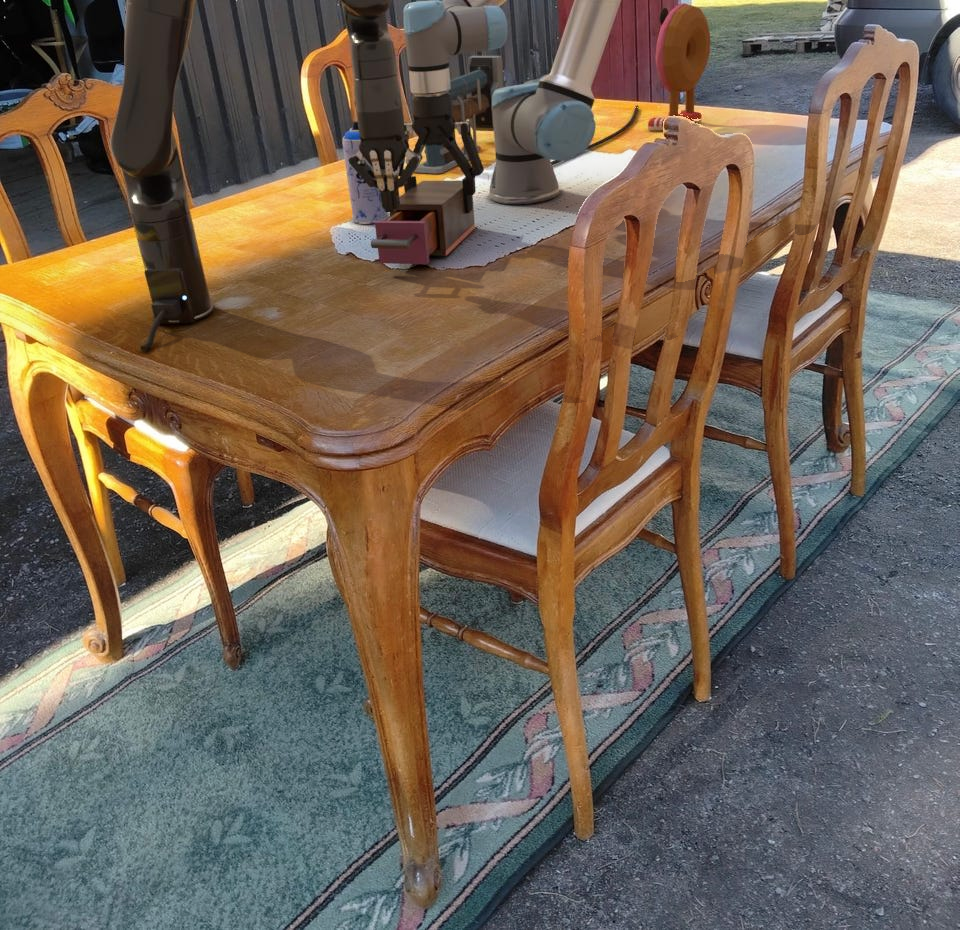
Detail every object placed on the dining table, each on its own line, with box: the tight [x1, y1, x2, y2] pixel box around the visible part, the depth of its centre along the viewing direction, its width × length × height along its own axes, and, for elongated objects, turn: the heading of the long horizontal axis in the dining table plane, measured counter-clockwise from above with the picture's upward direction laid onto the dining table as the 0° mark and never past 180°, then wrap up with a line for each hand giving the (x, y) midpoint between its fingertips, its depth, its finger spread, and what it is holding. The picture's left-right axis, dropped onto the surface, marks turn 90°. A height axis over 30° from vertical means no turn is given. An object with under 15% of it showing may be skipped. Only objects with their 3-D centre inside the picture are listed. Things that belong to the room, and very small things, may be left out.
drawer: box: [370, 210, 440, 265], centre depth 176 cm, size 24×9×7 cm, turn 164°
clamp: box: [414, 55, 504, 175], centre depth 244 cm, size 35×9×21 cm, turn 151°
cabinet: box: [389, 180, 476, 257], centre depth 187 cm, size 19×10×10 cm, turn 164°
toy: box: [647, 2, 711, 131], centre depth 254 cm, size 21×10×30 cm, turn 141°
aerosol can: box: [342, 120, 390, 225], centre depth 201 cm, size 8×8×20 cm
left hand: (391, 211), depth 166 cm, fingers closed
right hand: (441, 211), depth 191 cm, fingers closed on cabinet, 10 cm apart
